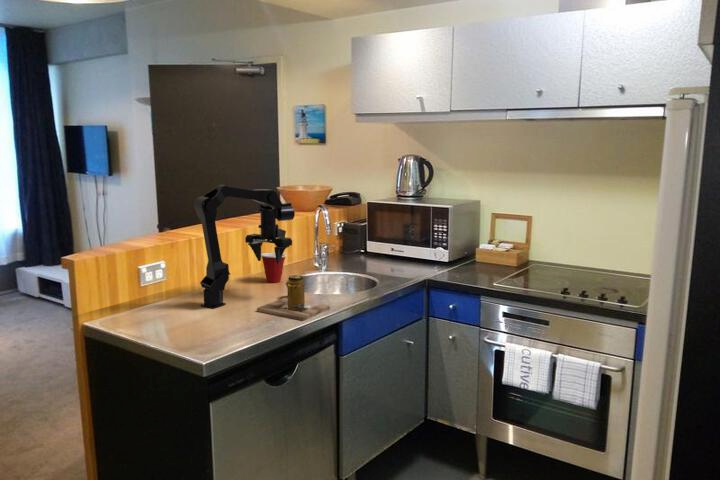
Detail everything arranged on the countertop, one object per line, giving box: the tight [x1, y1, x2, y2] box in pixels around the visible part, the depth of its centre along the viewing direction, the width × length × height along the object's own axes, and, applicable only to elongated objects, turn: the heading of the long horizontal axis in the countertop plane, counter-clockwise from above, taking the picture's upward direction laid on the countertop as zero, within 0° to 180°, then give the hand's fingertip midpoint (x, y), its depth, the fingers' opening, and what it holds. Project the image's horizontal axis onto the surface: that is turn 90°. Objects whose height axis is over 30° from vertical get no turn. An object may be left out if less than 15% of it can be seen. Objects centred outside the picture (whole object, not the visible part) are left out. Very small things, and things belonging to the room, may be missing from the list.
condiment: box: [286, 274, 311, 312], centre depth 207 cm, size 7×8×12 cm
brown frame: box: [256, 297, 330, 321], centre depth 207 cm, size 16×20×1 cm
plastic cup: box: [261, 252, 287, 284], centre depth 246 cm, size 11×11×12 cm
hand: (268, 262), depth 224 cm, fingers open, 9 cm apart
